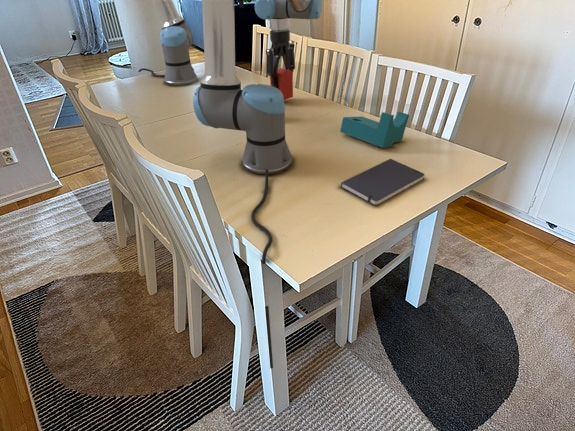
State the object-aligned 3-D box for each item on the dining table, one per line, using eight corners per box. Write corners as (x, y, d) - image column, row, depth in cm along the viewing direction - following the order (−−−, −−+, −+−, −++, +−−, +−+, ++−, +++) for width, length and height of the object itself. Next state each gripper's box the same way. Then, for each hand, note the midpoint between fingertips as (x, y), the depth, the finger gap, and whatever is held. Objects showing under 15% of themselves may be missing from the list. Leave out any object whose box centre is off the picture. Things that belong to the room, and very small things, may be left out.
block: (293, 97, 168) (292, 70, 161) (282, 101, 164) (281, 74, 158) (281, 93, 172) (280, 67, 165) (270, 97, 168) (269, 71, 162)
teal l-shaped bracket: (400, 145, 137) (409, 114, 132) (382, 147, 129) (391, 115, 125) (358, 130, 148) (365, 101, 143) (340, 131, 140) (346, 101, 136)
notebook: (389, 163, 124) (340, 187, 113) (390, 158, 123) (341, 182, 112) (424, 178, 116) (375, 206, 105) (425, 174, 115) (376, 201, 104)
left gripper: (264, -50, 187) (266, 1, 199) (221, -47, 173) (226, 8, 185) (275, -50, 183) (277, 2, 195) (232, -47, 168) (237, 10, 181)
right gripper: (290, 24, 160) (291, 82, 174) (254, 32, 149) (258, 94, 163) (304, 26, 156) (304, 86, 169) (267, 35, 145) (271, 98, 159)
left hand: (252, 5), depth 190 cm, fingers open, 13 cm apart
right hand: (281, 90), depth 166 cm, fingers closed on block, 6 cm apart
